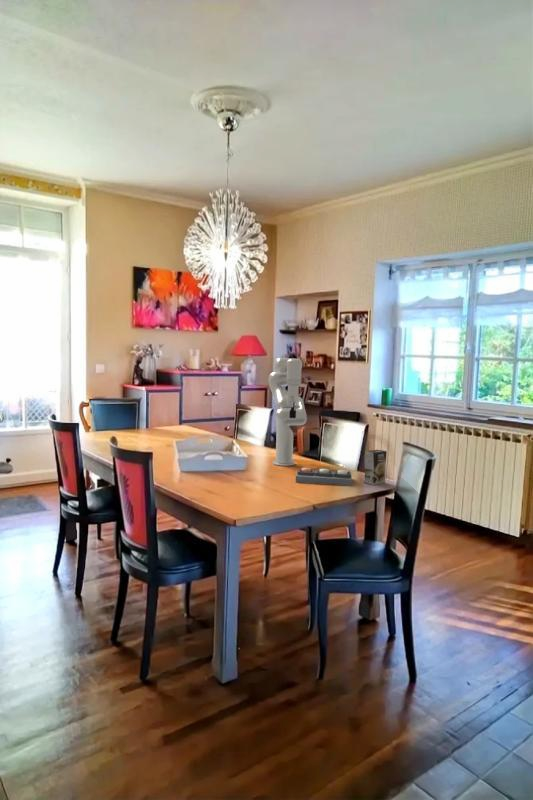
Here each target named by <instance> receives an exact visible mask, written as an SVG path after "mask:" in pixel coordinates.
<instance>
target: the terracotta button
mask: <svg viewBox="0 0 533 800" xmlns="http://www.w3.org/2000/svg"><path fill="white" fill-rule="evenodd" d="M300 469H301V472H311V469H312V468H311V467H301V468H300Z"/></svg>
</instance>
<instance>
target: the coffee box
mask: <svg viewBox="0 0 533 800" xmlns="http://www.w3.org/2000/svg"><path fill="white" fill-rule="evenodd" d="M364 461H365V462H364V474H363V475H364V476H363V477H364V478H363V483H365V484H368V485H371V486H376V485H380V484H382V485H383V484H385V483H386V472H387V471H386V468H387V451H386V450H384V449H383V450H382V449H372V450H370V449H369V450H365V459H364Z"/></svg>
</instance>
